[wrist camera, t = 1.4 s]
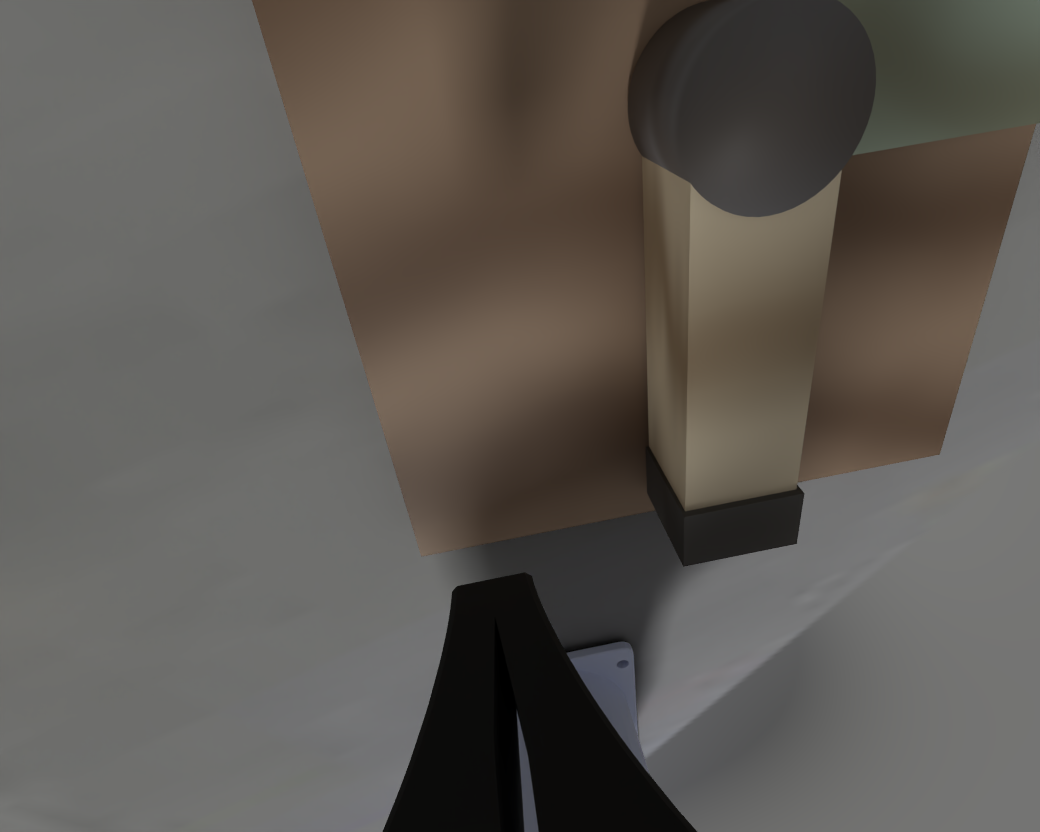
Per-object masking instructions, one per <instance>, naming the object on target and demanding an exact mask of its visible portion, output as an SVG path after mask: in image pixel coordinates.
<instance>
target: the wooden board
mask: <svg viewBox="0 0 1040 832" xmlns="http://www.w3.org/2000/svg"><path fill="white" fill-rule="evenodd" d="M705 1H709V0H252V2H253V5H254V8H255V12H256V15H257V18H258V22H259V25H260V28H261V31H262V35H263V38H264V41H265V45H266V48H267V51H268V54H269V58H270V61H271V64H272V68H273V71H274V74H275V77H276V81H277V84H278V87H279V91H280V94H281V97H282V100H283V104H284V107H285V110H286V113H287V117H288V120H289V123H290V127H291V130H292V133H293V136H294V140H295V143H296V146H297V150H298V153H299V156H300V159H301V163H302V166H303V169H304V173H305V176H306V179H307V182H308V186H309V189H310V192H311V196H312V199H313V202H314V205H315V209H316V212H317V215H318V219H319V222H320V225H321V228H322V232H323V235H324V238H325V242H326V245H327V248H328V251H329V255H330V258H331V261H332V264H333V268H334V271H335V274H336V278H337V281H338V284H339V287H340V291H341V294H342V297H343V301H344V304H345V307H346V310H347V314H348V317H349V320H350V324H351V327H352V330H353V333H354V337H355V340H356V343H357V347H358V350H359V353H360V356H361V360H362V363H363V366H364V370H365V373H366V376H367V379H368V383H369V386H370V389H371V392H372V396H373V399H374V402H375V406H376V409H377V412H378V415H379V419H380V422H381V425H382V429H383V432H384V435H385V438H386V442H387V445H388V448H389V452H390V455H391V458H392V461H393V465H394V468H395V471H396V475H397V478H398V481H399V484H400V488H401V491H402V494H403V498H404V501H405V504H406V507H407V511H408V514H409V517H410V521H411V524H412V527H413V530H414V534H415V537H416V540H417V543H418V547H419V550H420V553H421V557H422V556H427V555H432V554H437V553H442V552H447V551H452V550H457V549H463V548H468V547H473V546H478V545H483V544H488V543H493V542H498V541H503V540H508V539H513V538H518V537H523V536H528V535H534V534H539V533H544V532H549V531H554V530H559V529H564V528H569V527H574V526H579V525H584V524H589V523H594V522H599V521H604V520H610V519H615V518H620V517H625V516H630V515H635V514H640V513H645V512H650V511H655V508H654V506H653V504H652V502H651V500H650V498H649V496H648V494H647V477H646V447H647V446H649V428H648V386H647V344H646V301H645V259H644V217H643V174H642V155H641V154H640V152H639V151H638V149H637V147H636V145H635V143H634V140H633V137H632V134H631V130H630V126H629V120H628V95H629V87H630V83H631V79H632V75H633V72H634V69H635V67H636V64H637V61H638V59H639V57H640V55H641V53H642V51H643V50H644V48H645V47H646V45H647V44H648V42H649V40H650V39H651V38H652V37H653V35H654V34H655V33H656V32H657V30H658V29H659V28H660V27H661V26H662V25H663V24H664V23H666V22H667V21H668V20H669V19H670V18H672V17H673V16H674V15H676V14H677V13H679V12H680V11H682V10H684V9H686V8H687V7H690V6H692V5H695V4H697V3H700V2H705ZM838 1H839V2H841V3H842V4H843V5H845V6H846V7H847V8H849V9H850V10H851V11H852V12H853V13H854V15H855V16H856V17H857V18H858V19H859V21H860V22H861V24H862V25H863V27H864V28H865V30H866V33H867V35H868V37H869V39H870V42H871V45H872V49H873V53H874V58H875V66H876V88H875V98H874V102H873V107H872V112H871V115H870V118H869V121H868V124H867V127H866V129H865V132H864V134H863V136H862V139H861V141H860V143H859V144H858V146H857V148H856V150H855V152H854V153H853V155H852V156H851V158H850V159H849V161H848V162H847V164H846V165H845V166H844V168H843V169H842V173H841V180H840V187H839V194H838V201H837V208H836V215H835V222H834V229H833V236H832V243H831V250H830V257H829V264H828V271H827V278H826V285H825V292H824V299H823V306H822V314H821V321H820V328H819V335H818V342H817V349H816V356H815V363H814V370H813V377H812V384H811V391H810V398H809V405H808V412H807V419H806V426H805V433H804V440H803V447H802V455H801V462H800V469H799V476H798V482H802V481H807V480H812V479H817V478H822V477H828V476H833V475H838V474H843V473H848V472H853V471H858V470H863V469H868V468H873V467H878V466H883V465H888V464H893V463H899V462H904V461H909V460H914V459H919V458H924V457H929V456H934V455H939V454H940V451H941V448H942V444H943V441H944V438H945V434H946V431H947V427H948V424H949V420H950V417H951V414H952V410H953V407H954V403H955V400H956V396H957V393H958V390H959V386H960V383H961V379H962V376H963V372H964V369H965V366H966V362H967V359H968V355H969V352H970V348H971V345H972V342H973V338H974V335H975V331H976V328H977V324H978V321H979V318H980V314H981V311H982V307H983V304H984V301H985V297H986V294H987V290H988V287H989V283H990V280H991V277H992V273H993V270H994V266H995V263H996V259H997V256H998V253H999V249H1000V246H1001V242H1002V239H1003V235H1004V232H1005V229H1006V225H1007V222H1008V218H1009V215H1010V211H1011V208H1012V205H1013V201H1014V198H1015V194H1016V191H1017V187H1018V184H1019V181H1020V177H1021V174H1022V170H1023V167H1024V163H1025V160H1026V157H1027V153H1028V150H1029V146H1030V143H1031V139H1032V136H1033V133H1034V129H1035V126H1036V124H1037V123H1040V0H838Z"/></svg>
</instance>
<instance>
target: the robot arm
mask: <svg viewBox="0 0 1040 832" xmlns="http://www.w3.org/2000/svg"><path fill="white" fill-rule="evenodd" d="M383 832H697V831H696V830H695V829H694V828H693V827H692V825H691V824H690V823H689V822H688V821H687V820H686V819H685V817H684V816H683V815H682V814H681V813H680V812H679V811H678V809H677V808H676V807H675V806H674V805H673V803H672V802H671V801H670V800H669V798H668V797H667V796H666V795H665V794H664V792H663V791H662V790H661V789H660V787H659V786H658V785H657V784H656V782H655V781H654V780H653V779H652V777H651V776H650V774H649V771H648V767H647V765H646V761H645V758H644V755H643V751H642V748H641V745H640V742H639V739H638V728H637V709H636V689H635V670H634V653H633V650H632V647H631V645H630V644H629V643H627V642H616V643H611V644H606V645H601V646H597V647H592V648H587V649H582V650H577V651H572V652H568V653H566V652H565V650H564V648H563V646H562V645H561V643H560V641H559V639H558V637H557V635H556V633H555V631H554V629H553V627H552V625H551V623H550V621H549V619H548V617H547V615H546V613H545V611H544V609H543V607H542V604H541V602H540V599H539V597H538V594H537V591H536V589H535V586H534V583H533V579H532V576H531V575H529V574H527V573H520V574H515V575H510V576H505V577H500V578H495V579H490V580H485V581H480V582H475V583H470V584H465V585H460V586H457V587H456V588H455V589H454V590H453V591H452V600H451V609H450V615H449V622H448V627H447V633H446V638H445V642H444V647H443V651H442V656H441V660H440V664H439V668H438V671H437V675H436V679H435V683H434V686H433V690H432V694H431V698H430V701H429V705H428V708H427V711H426V714H425V717H424V721H423V724H422V727H421V730H420V733H419V736H418V739H417V742H416V745H415V748H414V751H413V754H412V757H411V760H410V763H409V766H408V768H407V771H406V774H405V776H404V779H403V782H402V784H401V787H400V790H399V792H398V795H397V797H396V800H395V802H394V805H393V807H392V810H391V812H390V815H389V817H388V820H387V822H386V825H385V827H384V830H383Z"/></svg>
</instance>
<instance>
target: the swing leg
mask: <svg viewBox="0 0 1040 832" xmlns="http://www.w3.org/2000/svg"><path fill="white" fill-rule="evenodd" d="M875 88H876V66H875V58H874V53H873V49H872V45H871V42H870V39H869V37H868V35H867V33H866V30H865V28H864V27H863V25H862V24H861V22H860V21H859V19H858V18H857V17H856V16H855V15H854V13H853V12H852V11H851V10H850V9H849V8H847V7H846V6H845V5H843V4H842V3H841V2H839V1H838V0H709V1H705V2H700V3H697V4H695V5H692V6H690V7H687V8H686V9H684V10H682V11H680V12H679V13H677V14H676V15H674V16H673V17H672V18H670V19H669V20H668V21H667V22H666V23H664V24H663V25H662V26H661V27H660V28H659V29H658V30H657V32H656V33H655V34H654V35H653V37H652V38H651V39H650V40H649V42H648V44H647V45H646V47H645V48H644V50H643V51H642V53H641V55H640V57H639V59H638V61H637V64H636V67H635V69H634V72H633V75H632V79H631V83H630V87H629V95H628V120H629V126H630V130H631V134H632V137H633V140H634V143H635V145H636V147H637V149H638V151H639V152H640V154H641V155H642V174H643V217H644V259H645V301H646V344H647V386H648V428H649V446H647V447H646V477H647V494H648V496H649V498H650V500H651V502H652V504H653V506H654V508H655V510H656V512H657V514H658V516H659V518H660V520H661V522H662V524H663V526H664V528H665V530H666V532H667V534H668V536H669V538H670V540H671V542H672V544H673V546H674V548H675V550H676V552H677V554H678V557H679V559H680V561H681V563H682V565H683V567H684V566H689V565H694V564H699V563H703V562H708V561H713V560H718V559H723V558H728V557H733V556H738V555H743V554H748V553H753V552H758V551H763V550H768V549H773V548H778V547H783V546H788V545H793V544H797V538H798V531H799V525H800V518H801V512H802V505H803V498H804V493H803V491H802V490H801V489H800V488H799V487H798V485H797V483H798V476H799V469H800V462H801V455H802V447H803V440H804V433H805V426H806V419H807V412H808V405H809V398H810V391H811V384H812V377H813V370H814V363H815V356H816V349H817V342H818V335H819V328H820V321H821V314H822V306H823V299H824V292H825V285H826V278H827V271H828V264H829V257H830V250H831V243H832V236H833V229H834V222H835V215H836V208H837V201H838V194H839V187H840V180H841V173H842V169H843V168H844V166H845V165H846V164H847V162H848V161H849V159H850V158H851V156H852V155H853V153H854V152H855V150H856V148H857V146H858V144H859V143H860V141H861V139H862V136H863V134H864V132H865V129H866V127H867V124H868V121H869V118H870V115H871V112H872V107H873V102H874V98H875Z"/></svg>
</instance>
